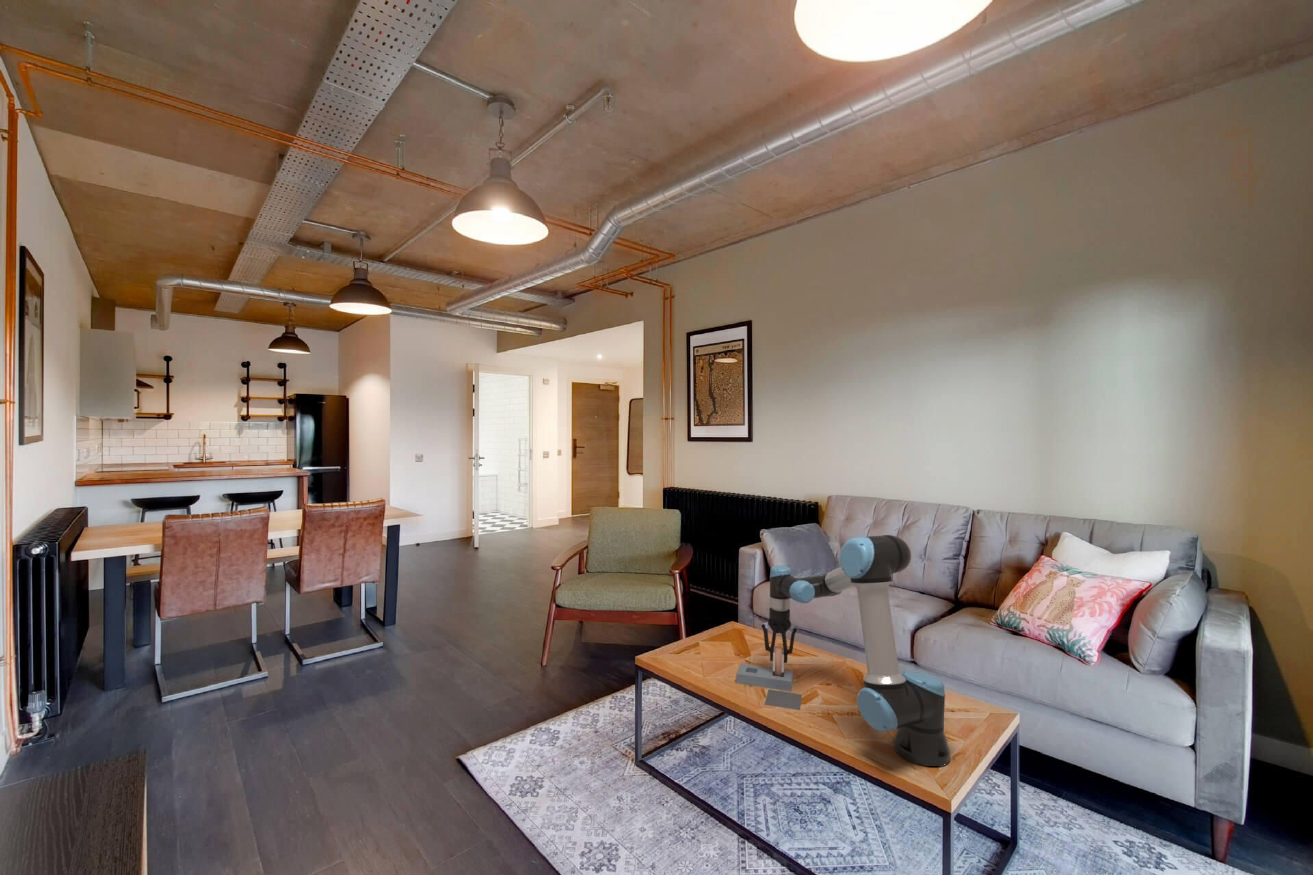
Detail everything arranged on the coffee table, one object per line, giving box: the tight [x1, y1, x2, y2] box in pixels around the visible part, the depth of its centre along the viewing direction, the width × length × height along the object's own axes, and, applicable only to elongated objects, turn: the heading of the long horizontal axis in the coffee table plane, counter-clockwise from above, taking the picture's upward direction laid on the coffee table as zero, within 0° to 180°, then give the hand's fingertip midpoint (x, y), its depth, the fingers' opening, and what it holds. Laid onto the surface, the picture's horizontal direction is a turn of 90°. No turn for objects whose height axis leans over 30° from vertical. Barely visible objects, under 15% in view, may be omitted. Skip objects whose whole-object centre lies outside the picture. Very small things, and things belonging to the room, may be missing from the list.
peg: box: [774, 645, 784, 677], centre depth 211 cm, size 3×3×12 cm
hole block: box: [735, 662, 794, 693], centre depth 213 cm, size 10×20×4 cm, turn 72°
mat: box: [764, 688, 803, 711], centre depth 199 cm, size 12×12×1 cm
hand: (778, 670), depth 211 cm, fingers closed on peg, 2 cm apart
